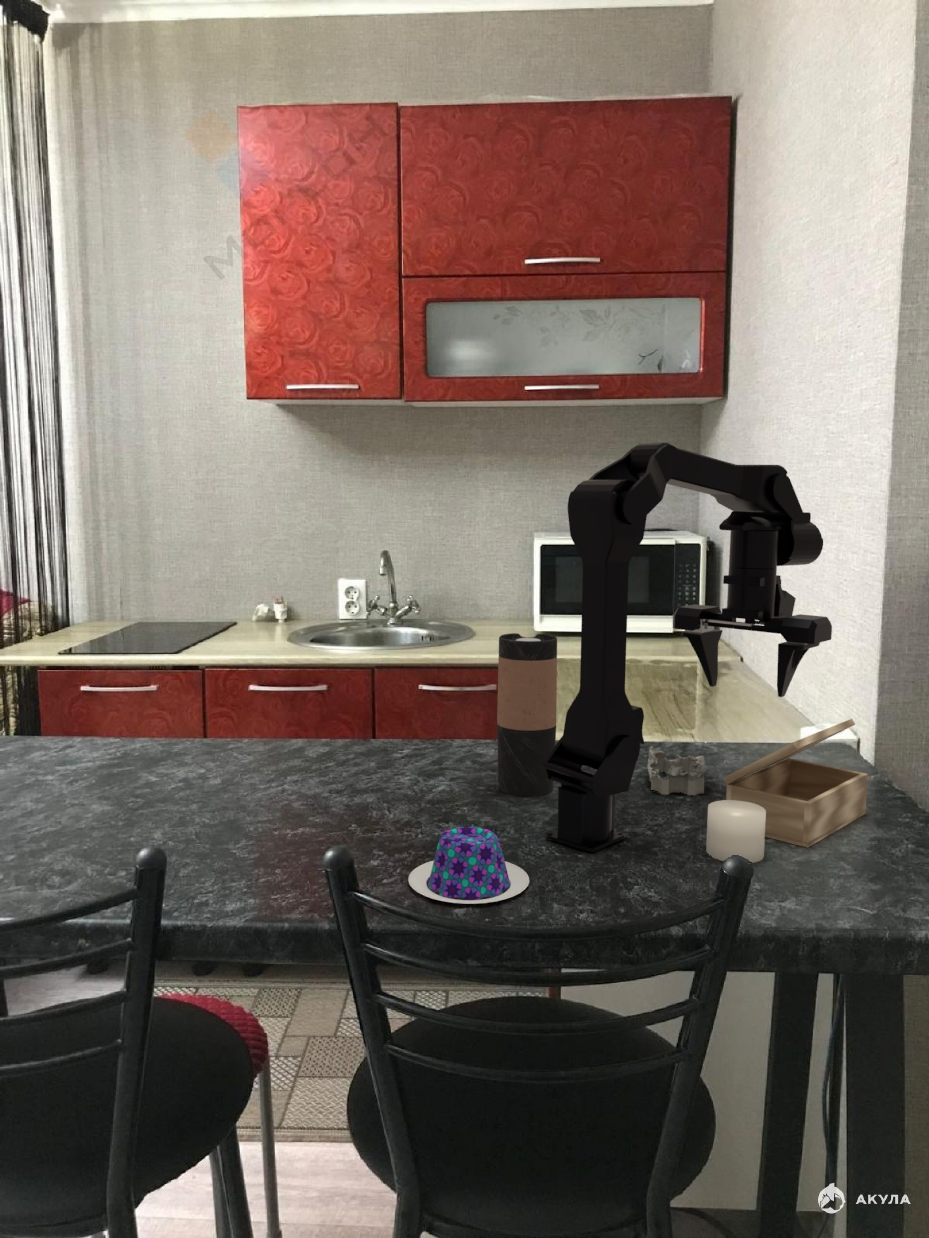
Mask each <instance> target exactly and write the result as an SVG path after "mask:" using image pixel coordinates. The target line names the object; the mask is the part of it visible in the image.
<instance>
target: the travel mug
mask: <svg viewBox="0 0 929 1238" xmlns="http://www.w3.org/2000/svg"><path fill="white" fill-rule="evenodd" d="M497 662H498V665H497V668H498V671H497V713H496V714H497V715H496V716H497V719H496V723H497V725H496V726H497V727H496V728H497V729H496V730H497V731H496V732H497V779H498V780H497V781H498V789H499V790H500V792H503V793H505V794H508V795H511V796H516V797H539V796H540V797H541V796H544V795H548V794H549V793H551V792H553V788H554V781H552V780H551V781H550V780H547V779H546V776H545V772H544V768H543V763H544V761H545V760H546V758H547V757H548V755H549V754H550V753H551V751H552V750H553V748H554V747H555V746H556V742H557V741H556V740H557V739H556V738H557V737H556V736H557V711H558V710H557V706H558V705H557V702H558V701H557V695H558V694H557V693H558V692H557V690H558V687H557V686H558V685H557V684H558V682H557V681H558V676H557V675H558V638H557V636H555V635H552V634H548V633H547V634H546V633H537V634H536V635H534V636H531V637H530V636H528V637H526V636H522V635H521V634H520V633H516V632H512V633H506V634H501V635H500V636H499V637H498V661H497Z"/></svg>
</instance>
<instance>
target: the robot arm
mask: <svg viewBox="0 0 929 1238" xmlns="http://www.w3.org/2000/svg"><path fill="white" fill-rule="evenodd" d="M787 474H788V470H787V469H786V468H785V467H784V466H782V465H780V464H734V463H733V462H728V461H725V460H721V459H717V458H715V457H711V456H706V455H704V454H699V453H696V452H693V451H689V450H685V449H682V448H680V447H679V448H678V447H676V446H674V445H673V444H671V443H669V442H653V443H652V442H651V443H648V442H647V443H639V444H637V445H635V446H634V447H632V448H630V449H629V450H628V452H626V453H625V454H624V455H623V456H622V457H621V458H619V459H617V460H615V461H613V462H611V463H610V464H608V465H607V466H605V467H603V468H602V469H599V471H596V472H595V473H594V474H592V476H591V477H589V478H588V480H582V481H581V482H579V483H578V484H577V486H575V488H574V489H573V490H572V491H570V493H569V496H568V500H567V517H568V523H569V524H568V526H569V534H570V535H569V536H570V539H572V542H573V544H574V547H575V548H576V550H577V552H578V555H579V556H580V559H581V562H582V589H581V591H582V593H581V625H580V626H581V629H580V630H581V633H580V667H579V669H580V671H579V672H580V673H579V674H580V675H579V691H578V693H577V695H576V696H575V697H574V699H573V701H572V703H571V705H570V706H569V707H568V709H567V711H566V713H565V714H566V715H565V721H564V727H563V732H562V734H563V735H561V736H560V739H558V742H557V743H555V747H554V748H553V750H552V751H551V753H550V754H549V755H548V757H547V758H546V760H545V761H544V763H543V768H544V772H545V776H546V779H547V780H550V781H551V780H552V781H553V782H556V783H558V784H560V787H558V789H557V826H556V827H557V829H554V830H552V831H550V832H547V833H546V834H545V838H546V839H547V840H551V841H553V842H557V843H560V844H563V845H566V846H569V847H572V848H576V849H579V850H581V851H585V852H589V853H593V852H598V851H599V850H601V849H603V848H606V847H608V846H611V845H613V844H615V843H617V842H620V841H622V840H624V839H625V838H626V837H625V835H626V834H625V833H623V832H621V831H620V832H619V831H618V830H614V829H615V816H616V815H615V813H616V810H615V807H616V804H615V803H616V795H618V794H622V793H626V792H629V790H630V786H631V784H632V783H631V782H632V779H633V775H634V772H635V768H636V765H637V761H638V759H639V756H640V750H641V745H644V744H645V741H644V737H643V726H644V720H645V719H644V718H645V714H644V710H643V708H642V707H640V706H638V705H632V704H631V703H630V699H629V697H627V693H626V667H627V666H626V665H627V664H626V663H627V635H628V634H627V632H628V631H627V630H628V605H629V603H628V602H629V601H628V598H629V596H628V594H629V566H630V562H631V560H632V558H633V556H634V555H635V553H636V551H637V550H638V548H639V547H640V545H641V543H642V541H643V540H644V537H645V536H644V535H645V531H646V522H647V517H648V515H649V514H650V513H651V512H652V511H653V510H654V508H655V507H657V505H658V504H660V503H661V502H662V500H663V498H664V494H665V492H666V491H665V490H666V487H667V485H671V486H675V487H679V488H683V489H688V490H691V491H695V492H699V493H703V494H707V495H710V496H712V497H714V498H715V501H716V502H717V504H719V505H721V506H722V507H725V508H727V509H728V510H730V511H731V513H730V514H729V515H728V516H727V517H726V518H725V519H724V520H723V521H722V522H721V523H720V524H719V527H718V528H719V530H721V531H730V534H729V535H730V537H729V559H728V560H729V561H728V574H725V575H723V578H722V579H723V580H722V581H723V582H722V584H725V585H727V596H726V597H727V600H726V607H724V608H720V607H719V606H717V605H704V604H689V605H683V606H678V607H677V609H676V610H675V611H674V614H673V616H672V618H673V619H672V629H674V630H683V631H682V632H681V637H686V638H687V640H688V641H689V643H690V645H691V647H692V649H693V651H694V652H695V654H696V656H697V659H698V661H699V662H700V665H701V668H702V670H703V673H704V676H705V678H706V680H707V682H708V685H709V687H713V688H714V687H716V686H717V683H718V676H719V675H718V673H719V667H718V666H719V643H720V639H721V637H722V633H723V628H724V629H732V630H733V629H734V630H741V631H751V632H761V633H771V634H772V633H773V634H780V635H781V637H783V639H784V642H780V643H777V644H778V645H777V669H776V670H777V676H776V679H777V680H776V690H777V697H779V698H782V697H785V696H786V693H787V691H788V690H789V689H788V688H789V687H790V684H791V682H792V681H793V677H794V676H795V672H796V671H797V669H798V666H799V664H800V662H801V661H802V659H803V658H804V656H805V654H807V652H808V651H809V649H812V648H815V647H819V645H820V644H821V643H823V642H827V641H831V640H832V633H833V626H832V622H831V620H830V619H829V617H827V616H822V615H821V616H819V615H811V614H799V613H798V614H795V615H793V613H794V608H795V605H796V604H795V603H796V599H797V598H796V596H795V597H794V596H793V595H792V594H791V593H789V591H786V589H785V590H784V589H783V588H782V575H780V574H779V575H777V573H778V572H777V571H778V570H777V569H778V567H786V566H803V565H804V566H805V565H809V564H810V565H811V564H812V563H814V562H815V561H816V560H817V559H818V558H819V557H820V555H821V554H822V551H823V547H824V538H823V537H822V533H821V531H820V529H819V528H818V527H817V525H816V524H814V523H813V522H811V518H812V517H811V515H812V514H811V512H804V511H803V508H802V506H801V504H800V500H799V499H798V496H797V493H796V491H795V489H794V486H793V484H792V480H791V479H790V477H789V475H787ZM737 619H743V620H744V621H743V622H742V621H737ZM715 627H716V628H722V629H715ZM582 767H585V768H588V769H592V770H594V771H596V772H595V773H593V772H589V771H587V770H583V769H582Z"/></svg>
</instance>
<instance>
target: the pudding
mask: <svg viewBox="0 0 929 1238" xmlns="http://www.w3.org/2000/svg"><path fill="white" fill-rule="evenodd" d="M438 840H439V841H438V843H437V845H436V846H437V847H436V851H435V855H434V859H433V860H430V861H427V862H425V863H422V864H421V865H419V866H417V867H416V868H414V869H413V870H412V871H411V872H410V873H409V875H408V879H407V880H408V885H409V886H410V887H411V888H412V889H413V890H414V891H415V892H416V893H418V894H420V895H423V896H424V897H427V898H430V899H432V900H437V901H441V902H446V903H452V904H461V905H462V904H464V905H466V904H468V905H469V904H470V905H472V904H473V905H477V904H488V903H494V902H499V901H503V900H506V899H507V900H508V899H509V898H513V897H515V896H517V895H519V894H521V893H522V892H523V891H524V890H526V888H527V887H528V886H529V884H530V877H529V875H528V873H527V872H526V871H525V870H524V869H523V868H522V867H520V866H518V865H516V864H513V863H512V862H508V861H506V860H505V857H504V853H503V849H502V845H501V842H500V839H499V837H498V836H497V835H496V834H495V832H493V831H492V830H490V829H487V828H482V827H480V826H479V827H478V826H468V827H465V826H457V827H454V828H453V829H447V830H445V831H443V833H442V834H441V836H440V837H439V839H438ZM427 881H428V884H427ZM505 889H507V890H506V891H505V892H503V890H505ZM434 891H436V892H438V894H437V893H435V892H434ZM486 897H488V898H486ZM456 898H459V899H456ZM484 898H485V899H484Z"/></svg>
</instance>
